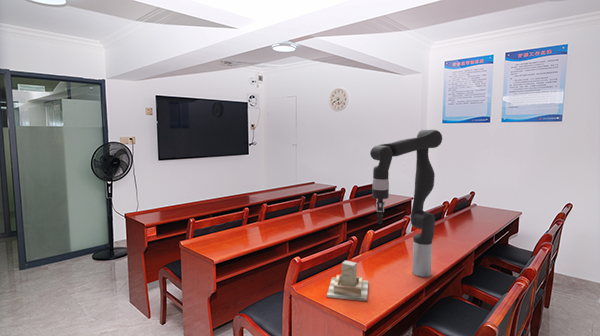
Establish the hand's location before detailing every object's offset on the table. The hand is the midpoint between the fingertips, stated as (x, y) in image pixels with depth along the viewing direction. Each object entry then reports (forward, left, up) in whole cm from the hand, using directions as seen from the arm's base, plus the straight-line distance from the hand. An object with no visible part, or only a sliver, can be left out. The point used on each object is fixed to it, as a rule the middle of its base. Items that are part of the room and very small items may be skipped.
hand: (379, 221), depth 162 cm
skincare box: (+8, -14, -31) cm, 35 cm away
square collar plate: (+8, -14, -32) cm, 36 cm away
